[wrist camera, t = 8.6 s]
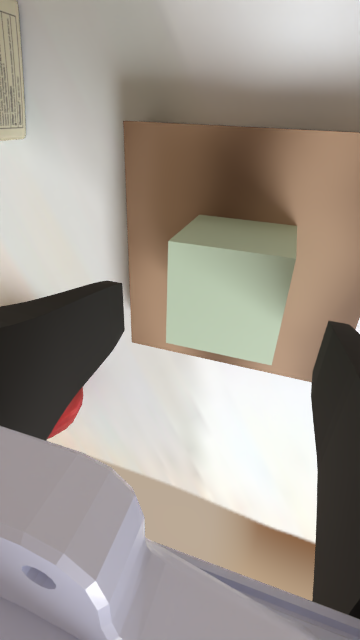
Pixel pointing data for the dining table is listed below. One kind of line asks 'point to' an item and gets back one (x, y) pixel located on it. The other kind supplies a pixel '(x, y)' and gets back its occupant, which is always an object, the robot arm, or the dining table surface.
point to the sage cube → (229, 286)
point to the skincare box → (11, 74)
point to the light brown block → (247, 204)
